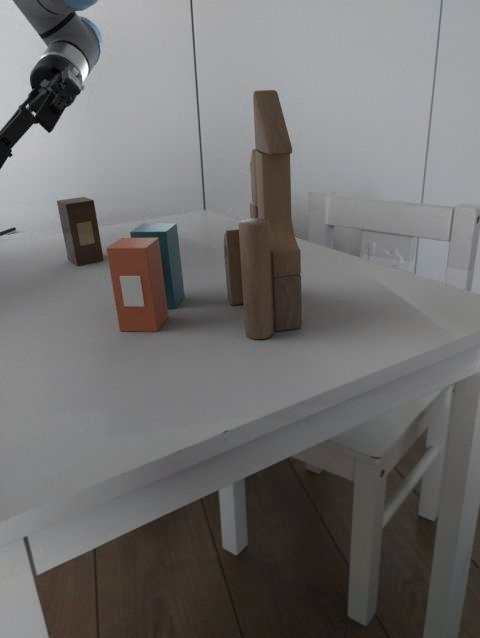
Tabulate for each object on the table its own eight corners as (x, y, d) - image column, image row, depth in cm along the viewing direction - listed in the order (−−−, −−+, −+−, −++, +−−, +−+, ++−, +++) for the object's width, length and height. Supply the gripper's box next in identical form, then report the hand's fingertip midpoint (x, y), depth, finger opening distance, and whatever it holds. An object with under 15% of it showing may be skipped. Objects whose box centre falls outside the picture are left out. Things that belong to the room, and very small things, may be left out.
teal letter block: (152, 296, 78) (142, 223, 74) (184, 296, 77) (176, 223, 73) (140, 309, 74) (129, 232, 69) (175, 309, 73) (165, 231, 69)
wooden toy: (224, 297, 76) (209, 92, 66) (273, 291, 78) (265, 89, 67) (248, 342, 63) (233, 92, 52) (307, 334, 64) (303, 88, 53)
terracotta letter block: (133, 316, 71) (121, 237, 67) (168, 317, 71) (158, 237, 66) (119, 331, 67) (105, 248, 63) (156, 332, 66) (145, 248, 62)
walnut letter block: (68, 260, 97) (56, 200, 93) (94, 255, 99) (83, 196, 95) (77, 266, 93) (66, 204, 89) (104, 260, 96) (94, 200, 92)
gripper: (126, 54, 92) (90, 125, 79) (32, 130, 105) (-12, 202, 92) (90, 12, 88) (46, 80, 75) (-3, 97, 100) (-55, 168, 87)
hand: (14, 148), depth 83 cm, fingers open, 13 cm apart
